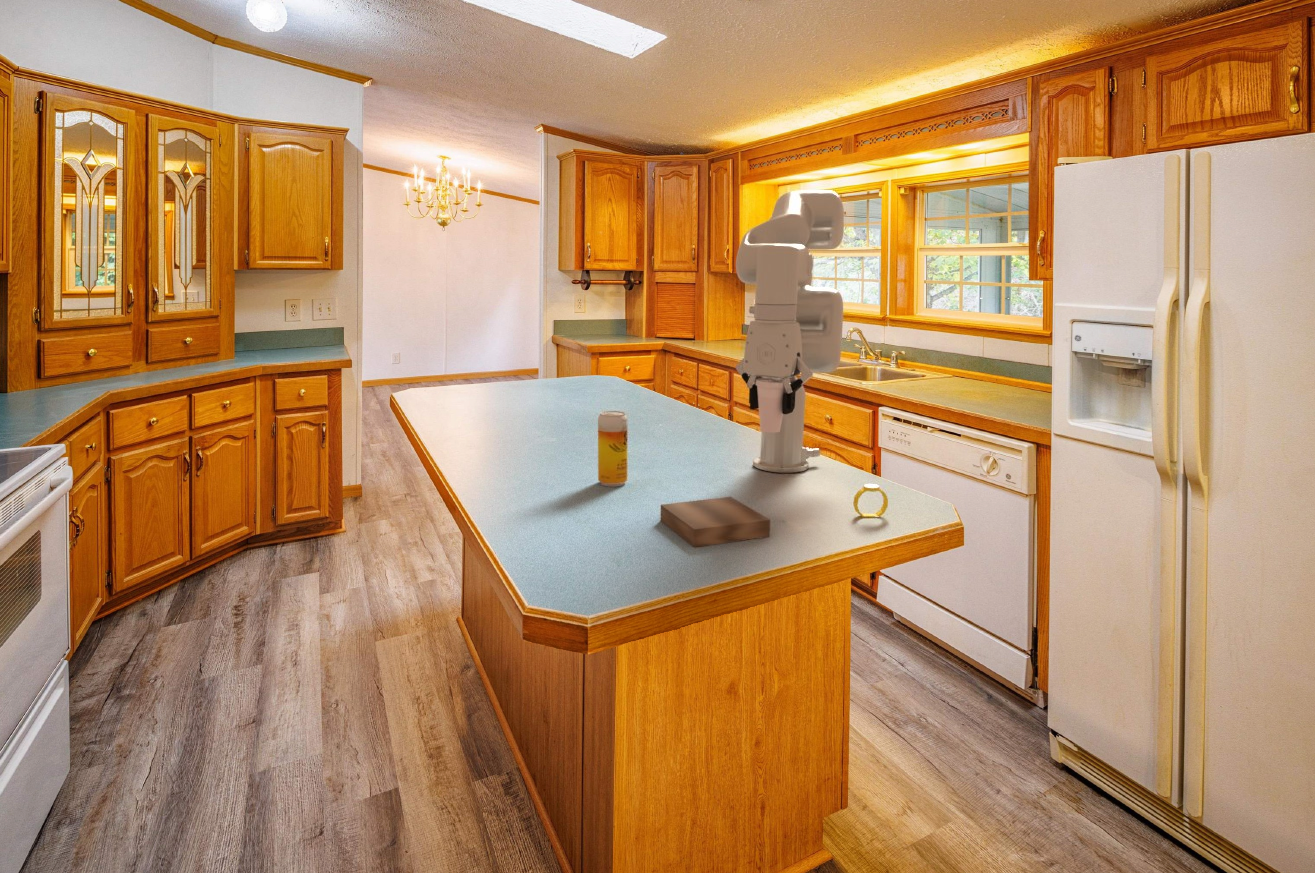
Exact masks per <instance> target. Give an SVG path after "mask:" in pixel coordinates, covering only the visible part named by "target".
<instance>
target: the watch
mask: <svg viewBox="0 0 1315 873" xmlns="http://www.w3.org/2000/svg"><path fill="white" fill-rule="evenodd" d="M867 492H874V493H875V492H879V493H881V496H882V497H883V499H882V500H883V504H882V506H881V508H880V509H879V510H878V511H877V512H876V513H862V512H860V509H859V506H858V504H859V499H860V498H861V496H862V495H863V494H864V493H867ZM888 506H889V498H888V495H887V494H886V492H885V491H883V490H882V489H880V485H878V484H876V483H875V484H874V483H865V484H864V485H863V487H862V488H861V489H859V490H858V491H857V492H856V493H855V495H854V498H853V507H854V510H855V512H856V513H857V514H858V515H859V516H860V517H861V518H863V517H865V518H866V517H869V518H876V517H875V516H880V517H881V516H882V515H884V514H885V513H886V511H887V509H888Z"/></svg>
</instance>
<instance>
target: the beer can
mask: <svg viewBox="0 0 1315 873" xmlns="http://www.w3.org/2000/svg"><path fill="white" fill-rule="evenodd" d="M597 458H598V459H597V461H598V462H597V463H598V464H597V466H598V467H597V468H598V469H597V470H598V472H597V474H598V477H597V478H598V481H599V482H600V485H602V486H604V487H610V488H611V487H613V488H614V487H621V486H624V485H625V484H626V482H627V481H628V416H627V414H626V412H624V411H619V410H606V411H605V410H604V411H601V412H599V415H598V418H597Z"/></svg>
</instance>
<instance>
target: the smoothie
mask: <svg viewBox="0 0 1315 873" xmlns="http://www.w3.org/2000/svg"><path fill="white" fill-rule="evenodd" d="M756 385H757V392H758V405H759V408H758V414H759V416H758V418H759V427H760V428H759V429H760V432H761V431H762V432H767V433H777V432H780V429H781V423H782V418H783V413H782V402H783V393H786V389H785V386H784V383H783V380H782V378H773V377H764V378H763V377H762V378H758V379H756Z"/></svg>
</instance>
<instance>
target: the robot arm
mask: <svg viewBox="0 0 1315 873" xmlns="http://www.w3.org/2000/svg"><path fill="white" fill-rule="evenodd" d="M844 213H845V212H844V206H843V201H842V198H841V197H840V196H839V194H838V193H836V192H835V191H833V190H793V191H788V192H786V193H783V194H781V196H780V197H779V198H778V199H777V200H776V202H775V205H774V207H773V210H772V214H771V217H770V218H769V219H768V220H766V221H765V222H762V223H760V224H759V225H756V226H754V227H752V228H750V229H749V230H748V231H747V232H746V233H745V234H744V235H743V237H742V239H741V241H740V244H739V247H738V250H737V254H736V260H735V271H736V275H737V277H738V279H739V280H740V281H741V282H742V283H744V284H747V285H755V298H754V304H753V305H754V306H750V307H749V309H748V312H749V314H751V315H753V318H754V320H750V322H749V325H748V330H747V332H746V337H745V346H744V354H743V358H742V359H741V360H740V361H739V362H738V363H737V364H736V365H735V370H736V371H737V372H738V374H739V375H740V377H741V379H742V380H743V382H745V383H746V388H748V389H749V392H748V393H749V394H748V403H749V409H750V410H753V411H754V410H757V409H759V405H758V392H757V385H756V379H758V378H764V377H773V378H782V380H783V383H784V386H785V389H786V393H783V402H782V413H783V418H782V423H781V429H780V432H777V433H767V432H762V431H761V430H760V432H761V435H760V455H759V456H758V457H755V458H754V459H753V461H752V463H753V464H752V465H753V467H754V468H757V469H758V470H761V471H766V472H771V473H780V474H781V473H782V474H783V473H784V474H786V473H787V474H789V473H790V474H791V473H800V472H804V471H806V470H808V469H809V462H808V459H809V458H816V457H820V455H821V450H820V448H809V447H805V446H804V444H803V443H804V427H805V410H806V409H805V408H806V390H805V387H804V385H805V384H806V382H808V381H809V380H810V379H811V378H812V377H813V375H814V374H817V373H818V374H830V373H833V372H835V371H836V370H837V369H838V368H839V365H840V363H841V358H842V357H841V356H842V344H843V343H842V340H843V322H844V301H843V297H842V294H841V293H840V292H839V290H837V289H834V288H830V287H812V284H813V283H812V280H813V267H814V258H813V254H812V253H811V250H813V251H814V250H815V251H816V250H818V251H821V250H822V251H823V250H824V251H826V250H834V249H837V248H838V247H839V246H840V245H841V243H842V241H843V236H844V231H845V230H844V228H845V226H844V225H845V222H844V221H845V217H844V216H845V214H844ZM813 373H814V374H813ZM798 375H800V376H799V377H797V376H798Z"/></svg>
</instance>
